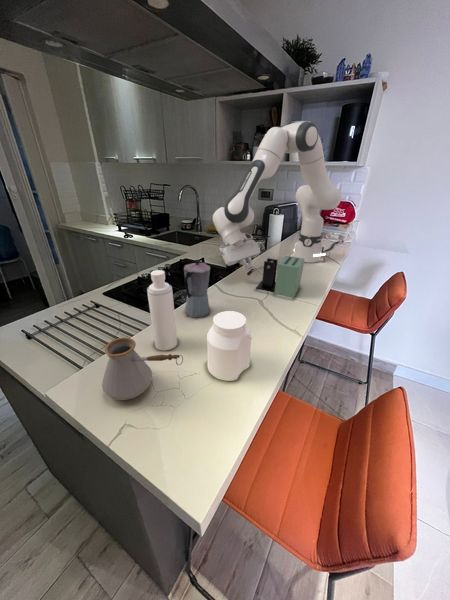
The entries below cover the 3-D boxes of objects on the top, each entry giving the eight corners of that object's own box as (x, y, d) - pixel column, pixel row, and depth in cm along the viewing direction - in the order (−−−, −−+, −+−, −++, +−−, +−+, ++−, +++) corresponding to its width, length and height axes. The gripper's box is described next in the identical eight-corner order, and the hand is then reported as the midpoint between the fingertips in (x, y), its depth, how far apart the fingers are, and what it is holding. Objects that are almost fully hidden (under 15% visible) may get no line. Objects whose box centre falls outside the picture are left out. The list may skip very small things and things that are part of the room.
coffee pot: (93, 397, 60) (76, 347, 53) (126, 365, 70) (116, 319, 62) (172, 428, 54) (165, 376, 46) (197, 388, 63) (194, 340, 56)
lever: (248, 276, 113) (246, 271, 112) (252, 272, 116) (250, 268, 116) (272, 268, 106) (270, 262, 105) (276, 264, 110) (274, 259, 109)
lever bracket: (255, 290, 111) (258, 262, 105) (263, 282, 119) (265, 255, 113) (273, 294, 108) (277, 266, 102) (280, 285, 116) (283, 258, 110)
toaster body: (274, 295, 107) (278, 264, 100) (281, 285, 116) (285, 255, 110) (293, 300, 104) (298, 267, 97) (299, 288, 113) (304, 258, 107)
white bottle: (182, 341, 79) (175, 265, 67) (166, 353, 74) (156, 273, 62) (166, 334, 82) (157, 260, 70) (150, 345, 77) (138, 267, 65)
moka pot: (216, 304, 100) (216, 255, 90) (202, 326, 87) (200, 271, 77) (193, 301, 102) (190, 252, 92) (176, 321, 89) (171, 267, 79)
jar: (227, 347, 77) (228, 304, 70) (254, 361, 72) (258, 316, 65) (201, 369, 69) (199, 322, 62) (230, 386, 64) (231, 337, 57)
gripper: (221, 242, 106) (237, 271, 104) (253, 234, 118) (268, 259, 117) (214, 250, 111) (230, 277, 109) (245, 241, 123) (260, 266, 122)
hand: (250, 268), depth 113 cm, fingers closed
